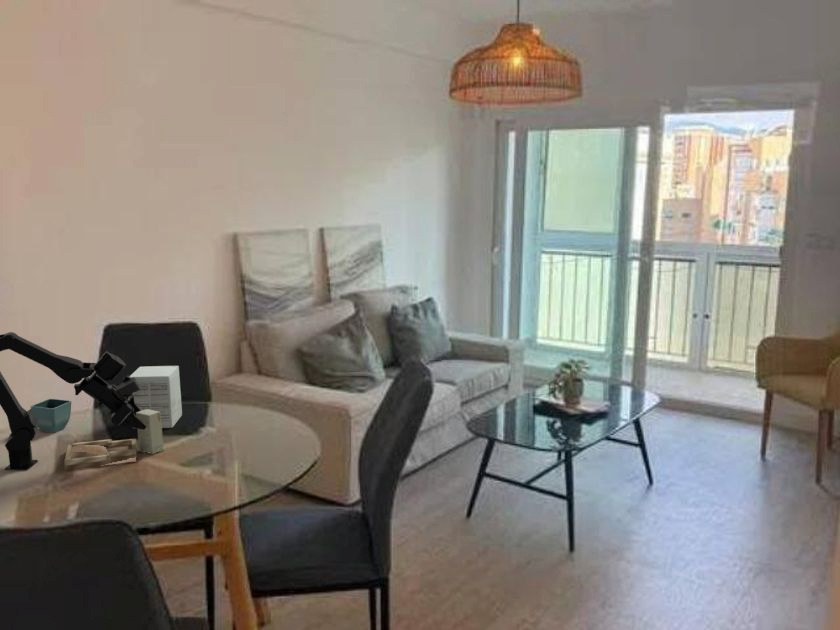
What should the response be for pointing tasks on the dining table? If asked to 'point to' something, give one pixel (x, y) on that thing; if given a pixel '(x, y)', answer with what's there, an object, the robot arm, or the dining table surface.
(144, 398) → the supplement box
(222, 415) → the dining table surface
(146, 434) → the skincare box
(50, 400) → the flower pot
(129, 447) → the keyhole guide
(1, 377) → the robot arm
